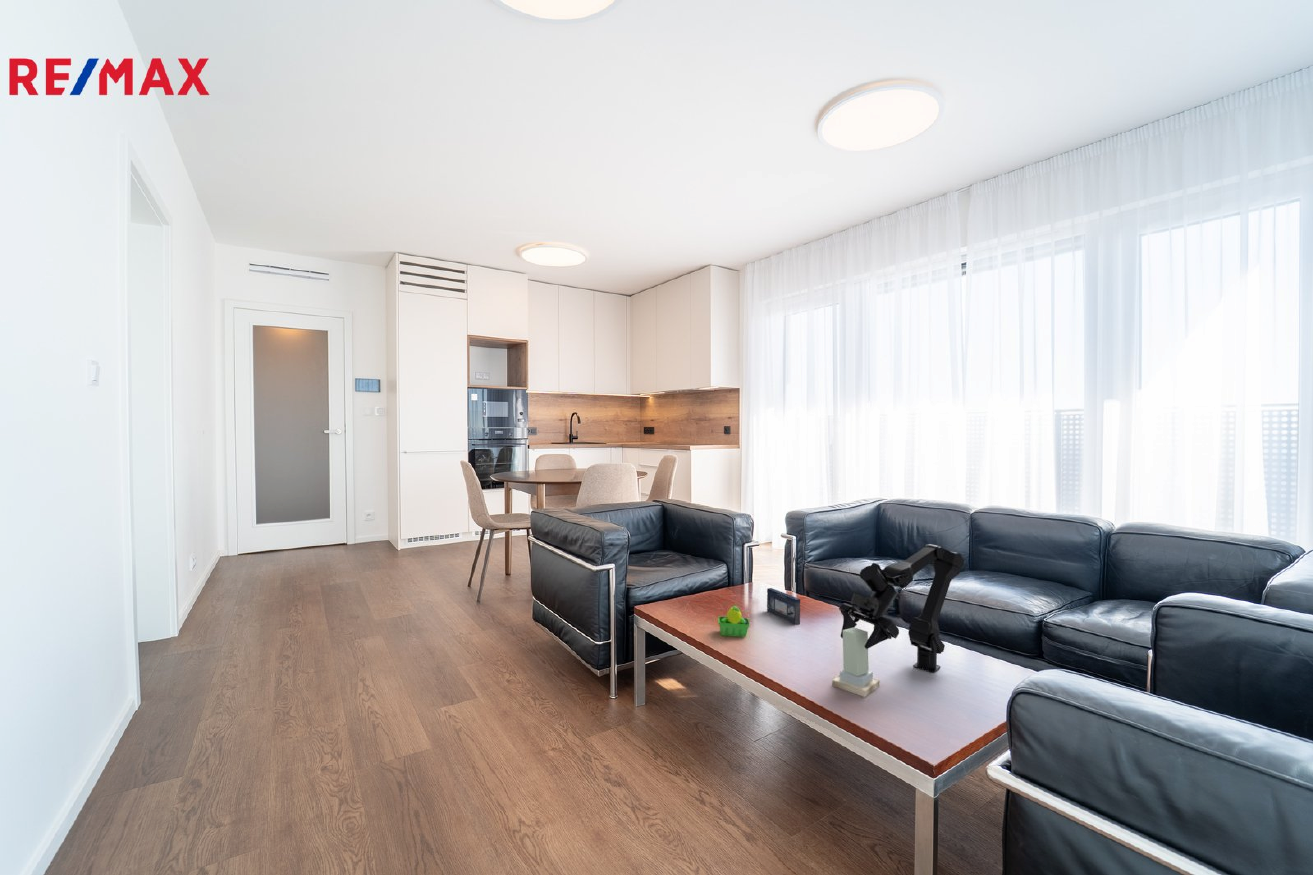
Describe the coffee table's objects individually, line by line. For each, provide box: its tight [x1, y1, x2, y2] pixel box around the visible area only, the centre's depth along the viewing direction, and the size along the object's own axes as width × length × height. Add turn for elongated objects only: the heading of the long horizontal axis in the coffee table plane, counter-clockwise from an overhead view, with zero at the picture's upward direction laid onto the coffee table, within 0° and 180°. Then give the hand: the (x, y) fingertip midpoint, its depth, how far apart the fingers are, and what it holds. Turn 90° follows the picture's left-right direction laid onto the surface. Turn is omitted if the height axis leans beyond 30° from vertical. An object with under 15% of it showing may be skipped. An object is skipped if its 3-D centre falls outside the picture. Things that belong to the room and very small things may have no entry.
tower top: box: [839, 668, 874, 688], centre depth 165 cm, size 7×7×2 cm
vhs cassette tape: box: [766, 587, 801, 625], centre depth 227 cm, size 18×3×10 cm, turn 25°
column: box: [842, 627, 870, 676], centre depth 165 cm, size 5×5×12 cm
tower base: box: [831, 674, 880, 698], centre depth 165 cm, size 10×10×2 cm
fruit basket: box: [717, 605, 750, 638], centre depth 207 cm, size 11×9×11 cm
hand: (853, 642), depth 165 cm, fingers open, 9 cm apart
